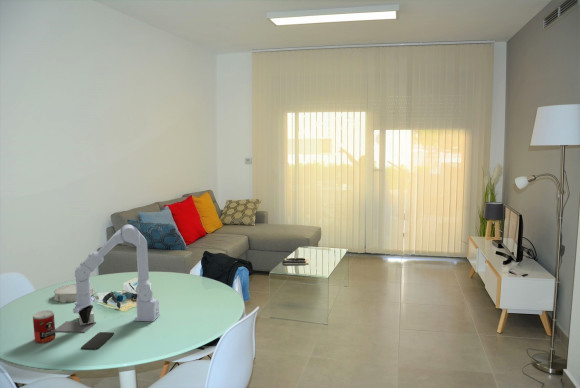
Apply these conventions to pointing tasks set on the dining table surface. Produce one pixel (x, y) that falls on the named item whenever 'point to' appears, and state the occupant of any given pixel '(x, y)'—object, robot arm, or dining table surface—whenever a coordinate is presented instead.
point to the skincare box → (89, 318)
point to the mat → (74, 327)
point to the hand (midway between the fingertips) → (85, 322)
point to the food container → (68, 293)
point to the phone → (97, 341)
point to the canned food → (44, 326)
